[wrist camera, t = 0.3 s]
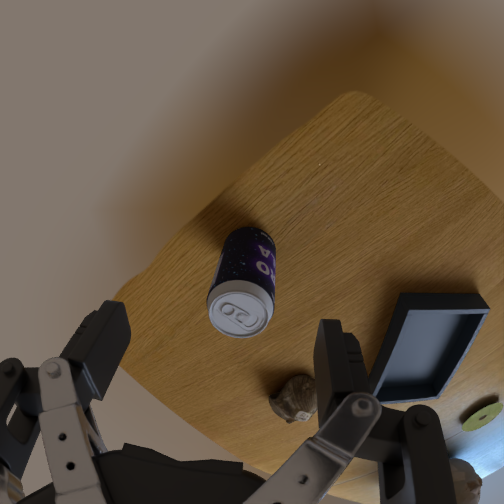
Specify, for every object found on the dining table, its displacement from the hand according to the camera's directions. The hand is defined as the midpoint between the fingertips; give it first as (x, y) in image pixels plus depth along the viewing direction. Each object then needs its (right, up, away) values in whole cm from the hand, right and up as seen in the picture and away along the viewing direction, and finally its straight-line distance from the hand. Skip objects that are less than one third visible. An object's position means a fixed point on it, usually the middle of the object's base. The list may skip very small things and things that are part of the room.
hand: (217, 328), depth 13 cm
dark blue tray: (+27, -11, +29) cm, 41 cm away
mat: (+54, -34, +40) cm, 75 cm away
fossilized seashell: (+8, -19, +35) cm, 41 cm away
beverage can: (+1, +4, +24) cm, 24 cm away
